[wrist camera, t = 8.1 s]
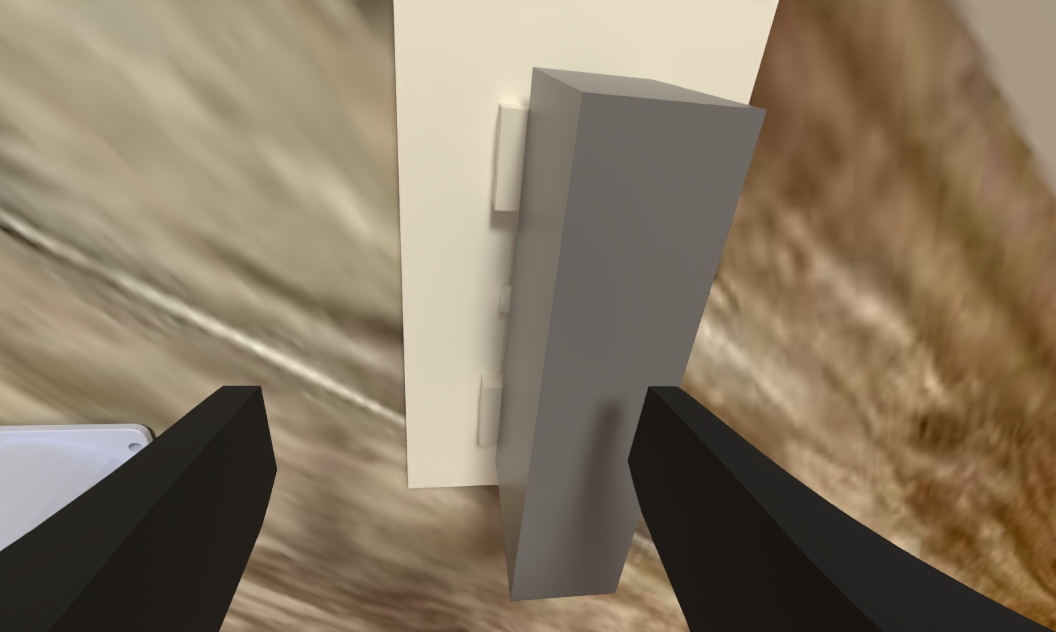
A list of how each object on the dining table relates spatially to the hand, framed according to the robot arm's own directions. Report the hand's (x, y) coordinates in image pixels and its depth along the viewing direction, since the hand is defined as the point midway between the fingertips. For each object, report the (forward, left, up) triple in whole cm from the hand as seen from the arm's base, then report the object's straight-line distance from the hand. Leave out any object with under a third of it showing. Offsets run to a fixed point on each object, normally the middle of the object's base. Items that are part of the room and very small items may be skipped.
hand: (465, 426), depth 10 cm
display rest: (-2, -4, -10) cm, 11 cm away
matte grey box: (-2, -4, -8) cm, 9 cm away
